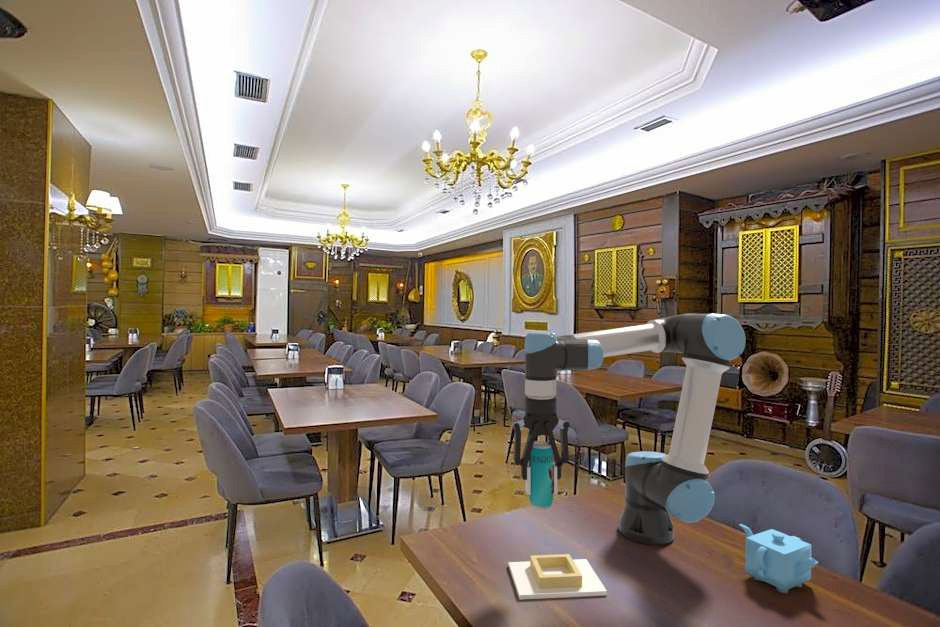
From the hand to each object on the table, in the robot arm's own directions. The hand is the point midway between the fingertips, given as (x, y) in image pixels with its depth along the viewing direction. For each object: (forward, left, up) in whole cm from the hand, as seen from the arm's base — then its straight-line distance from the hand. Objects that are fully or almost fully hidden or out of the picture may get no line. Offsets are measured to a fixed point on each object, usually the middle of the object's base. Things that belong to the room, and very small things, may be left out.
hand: (541, 491), depth 116 cm
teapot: (-56, +6, -21) cm, 60 cm away
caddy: (-3, +2, -20) cm, 21 cm away
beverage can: (0, 0, -4) cm, 4 cm away
